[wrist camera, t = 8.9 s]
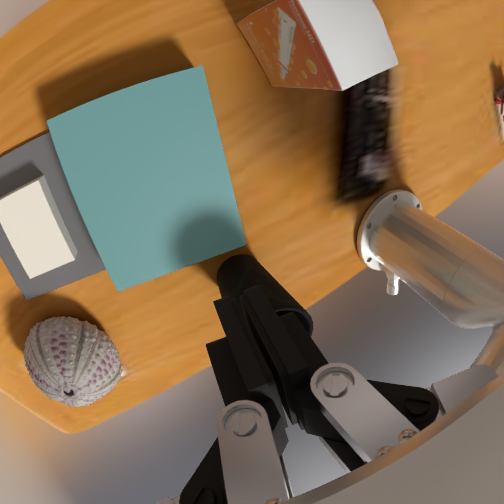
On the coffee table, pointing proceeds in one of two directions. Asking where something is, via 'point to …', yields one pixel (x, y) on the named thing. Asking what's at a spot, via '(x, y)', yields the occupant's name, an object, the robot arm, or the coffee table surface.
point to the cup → (252, 274)
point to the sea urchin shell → (71, 360)
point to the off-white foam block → (36, 228)
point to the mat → (48, 164)
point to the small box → (319, 42)
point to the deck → (150, 176)
